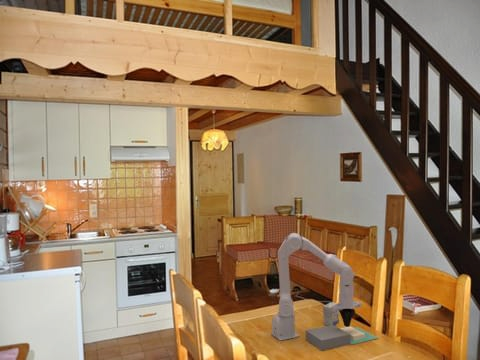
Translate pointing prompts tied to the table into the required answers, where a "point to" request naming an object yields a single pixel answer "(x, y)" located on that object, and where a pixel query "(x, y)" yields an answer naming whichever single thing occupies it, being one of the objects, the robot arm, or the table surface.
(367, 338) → the mat
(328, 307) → the medicine box
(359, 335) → the white flat block
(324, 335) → the block
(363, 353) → the table surface
